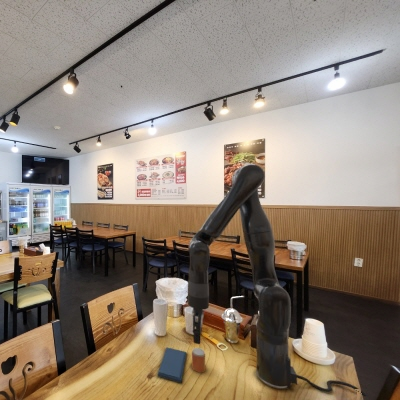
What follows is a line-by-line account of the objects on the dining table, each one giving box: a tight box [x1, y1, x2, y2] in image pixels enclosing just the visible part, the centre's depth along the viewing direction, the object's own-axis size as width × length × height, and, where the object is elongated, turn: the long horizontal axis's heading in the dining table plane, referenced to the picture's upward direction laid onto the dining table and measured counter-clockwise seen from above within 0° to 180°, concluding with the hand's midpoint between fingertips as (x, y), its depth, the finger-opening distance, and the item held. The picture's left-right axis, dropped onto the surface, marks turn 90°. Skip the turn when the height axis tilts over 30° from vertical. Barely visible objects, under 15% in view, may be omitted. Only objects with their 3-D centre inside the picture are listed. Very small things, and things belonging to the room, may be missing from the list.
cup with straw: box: [221, 295, 245, 344], centre depth 102 cm, size 8×9×20 cm
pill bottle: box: [191, 347, 206, 373], centre depth 84 cm, size 5×5×6 cm
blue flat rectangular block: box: [157, 347, 187, 384], centre depth 86 cm, size 8×16×1 cm, turn 158°
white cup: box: [184, 306, 196, 336], centre depth 109 cm, size 8×8×10 cm
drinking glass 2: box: [152, 298, 169, 337], centre depth 107 cm, size 7×7×15 cm
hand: (197, 336), depth 85 cm, fingers open, 8 cm apart
